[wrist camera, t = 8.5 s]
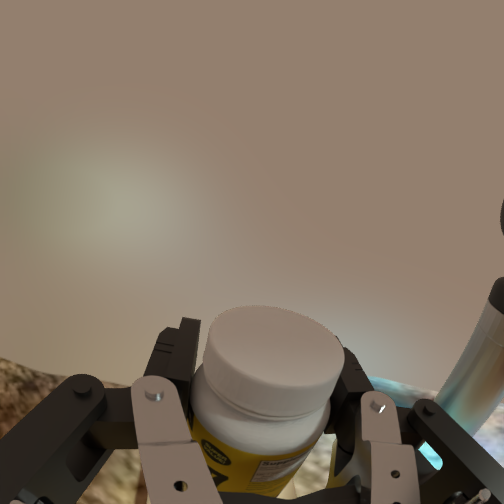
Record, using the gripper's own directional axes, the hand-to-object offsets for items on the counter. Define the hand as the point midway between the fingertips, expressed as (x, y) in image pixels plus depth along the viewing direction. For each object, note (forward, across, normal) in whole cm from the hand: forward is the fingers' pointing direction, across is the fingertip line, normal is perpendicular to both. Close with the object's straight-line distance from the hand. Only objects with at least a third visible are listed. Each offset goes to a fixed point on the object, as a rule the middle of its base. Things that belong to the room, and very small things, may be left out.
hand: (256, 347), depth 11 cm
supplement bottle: (-3, 0, +6) cm, 7 cm away
